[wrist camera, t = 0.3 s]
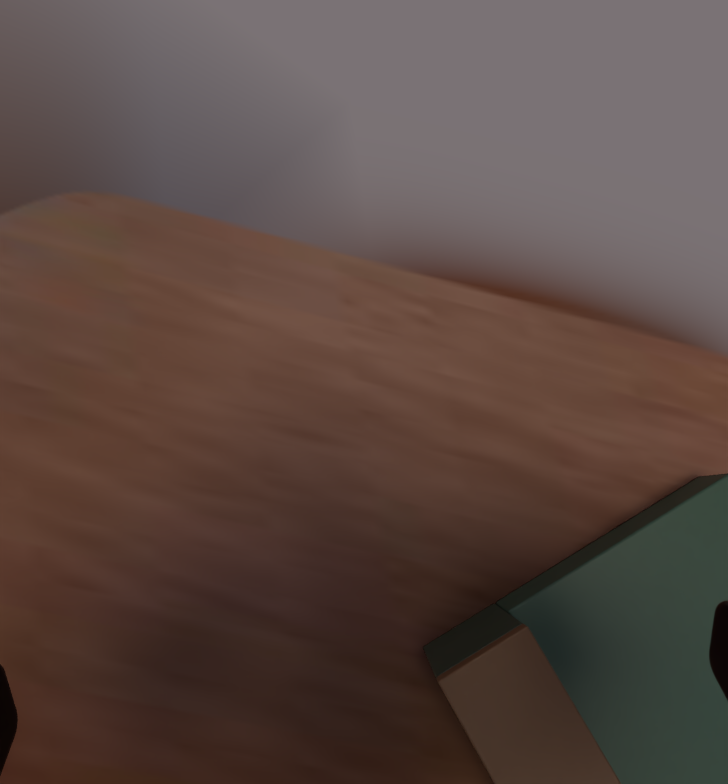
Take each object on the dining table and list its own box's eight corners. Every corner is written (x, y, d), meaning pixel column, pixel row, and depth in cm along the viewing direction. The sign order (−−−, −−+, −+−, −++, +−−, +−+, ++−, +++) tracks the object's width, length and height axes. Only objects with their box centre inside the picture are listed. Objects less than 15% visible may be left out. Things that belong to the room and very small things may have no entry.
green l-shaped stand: (949, 843, 20) (1112, 936, 16) (652, 1058, 19) (738, 1223, 15) (699, 475, 23) (781, 466, 18) (422, 647, 21) (437, 681, 17)
